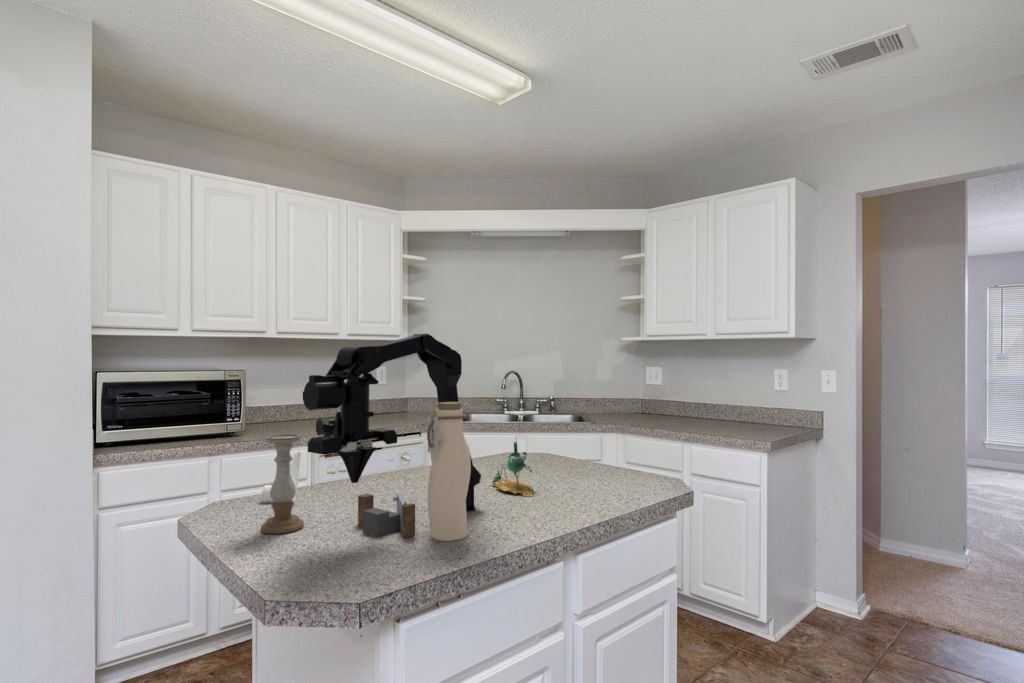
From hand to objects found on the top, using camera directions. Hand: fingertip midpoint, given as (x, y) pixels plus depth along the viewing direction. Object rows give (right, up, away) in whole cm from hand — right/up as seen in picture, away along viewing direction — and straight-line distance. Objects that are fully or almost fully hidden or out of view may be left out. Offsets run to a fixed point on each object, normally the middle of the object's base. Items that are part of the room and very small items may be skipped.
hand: (354, 482), depth 114 cm
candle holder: (-18, -12, +8) cm, 23 cm away
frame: (+5, -12, +6) cm, 15 cm away
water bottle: (+19, -12, +2) cm, 23 cm away
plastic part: (-29, -13, +33) cm, 46 cm away
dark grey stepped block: (+4, -12, +6) cm, 14 cm away
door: (+8, -12, +9) cm, 16 cm away
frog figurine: (+33, -13, +42) cm, 55 cm away
